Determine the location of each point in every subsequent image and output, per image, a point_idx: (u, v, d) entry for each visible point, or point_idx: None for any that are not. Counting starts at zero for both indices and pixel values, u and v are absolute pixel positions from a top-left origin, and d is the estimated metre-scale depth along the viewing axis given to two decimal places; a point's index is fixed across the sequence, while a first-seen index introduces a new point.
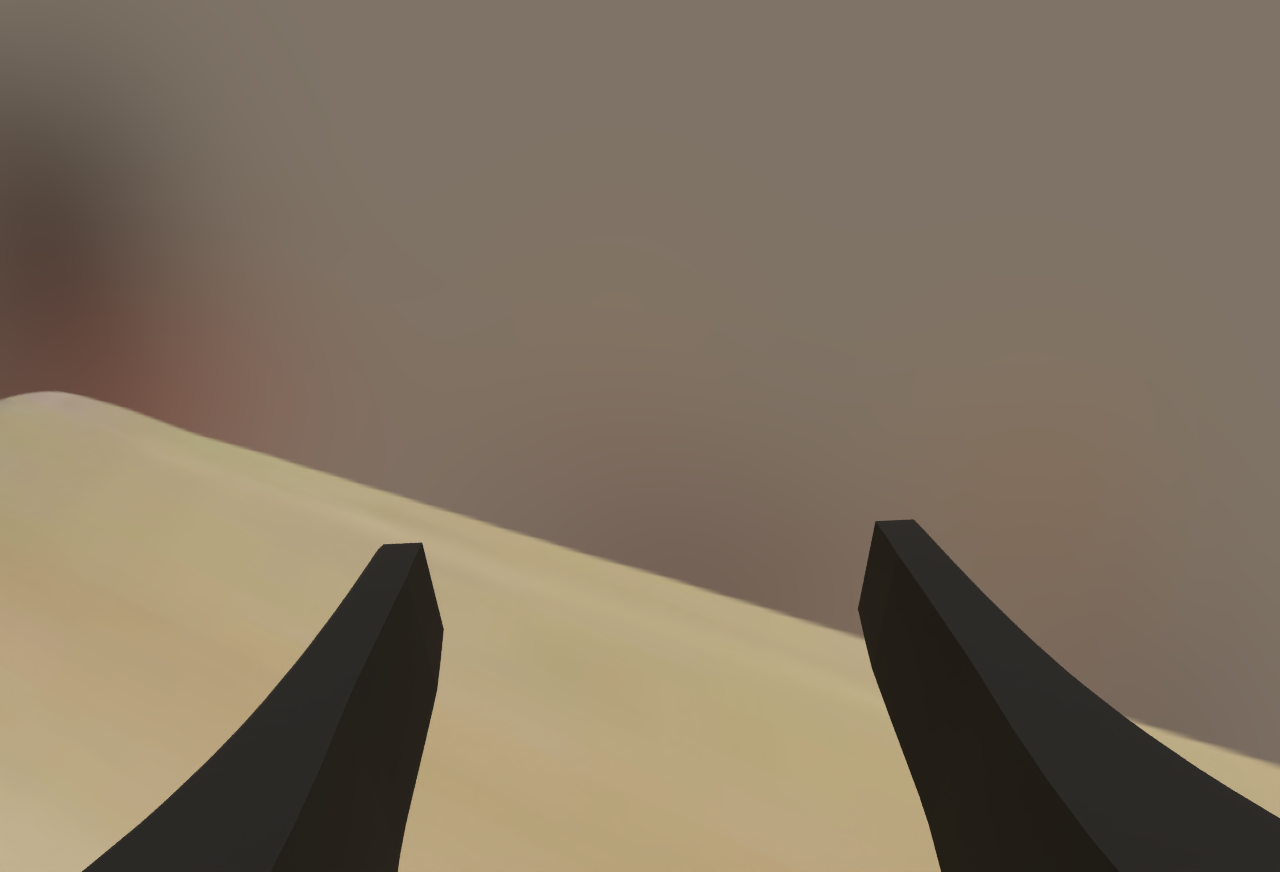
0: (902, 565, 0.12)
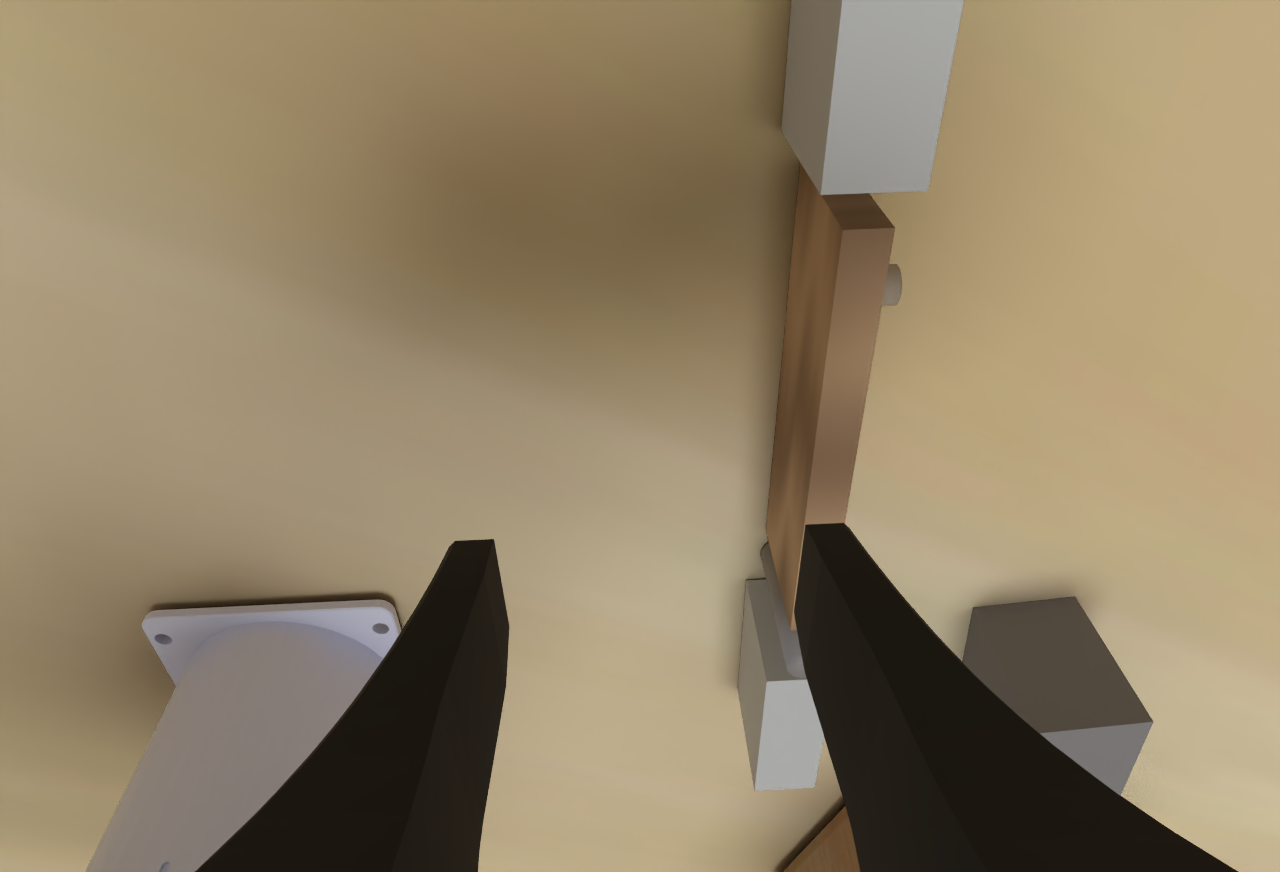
0: (825, 569, 0.12)
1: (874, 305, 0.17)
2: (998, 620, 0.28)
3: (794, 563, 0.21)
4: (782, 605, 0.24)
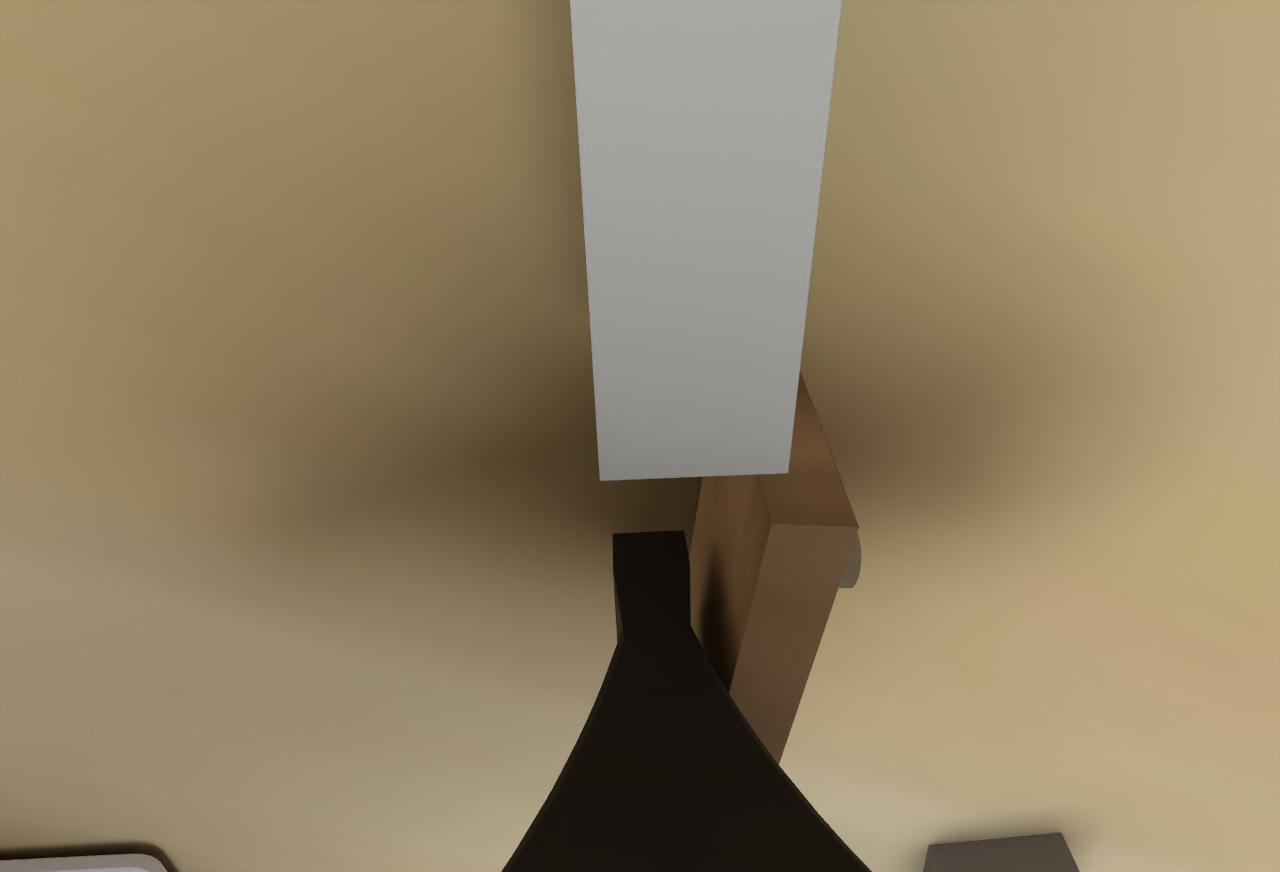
0: None
1: (813, 623, 0.10)
2: (961, 868, 0.21)
3: None
4: None
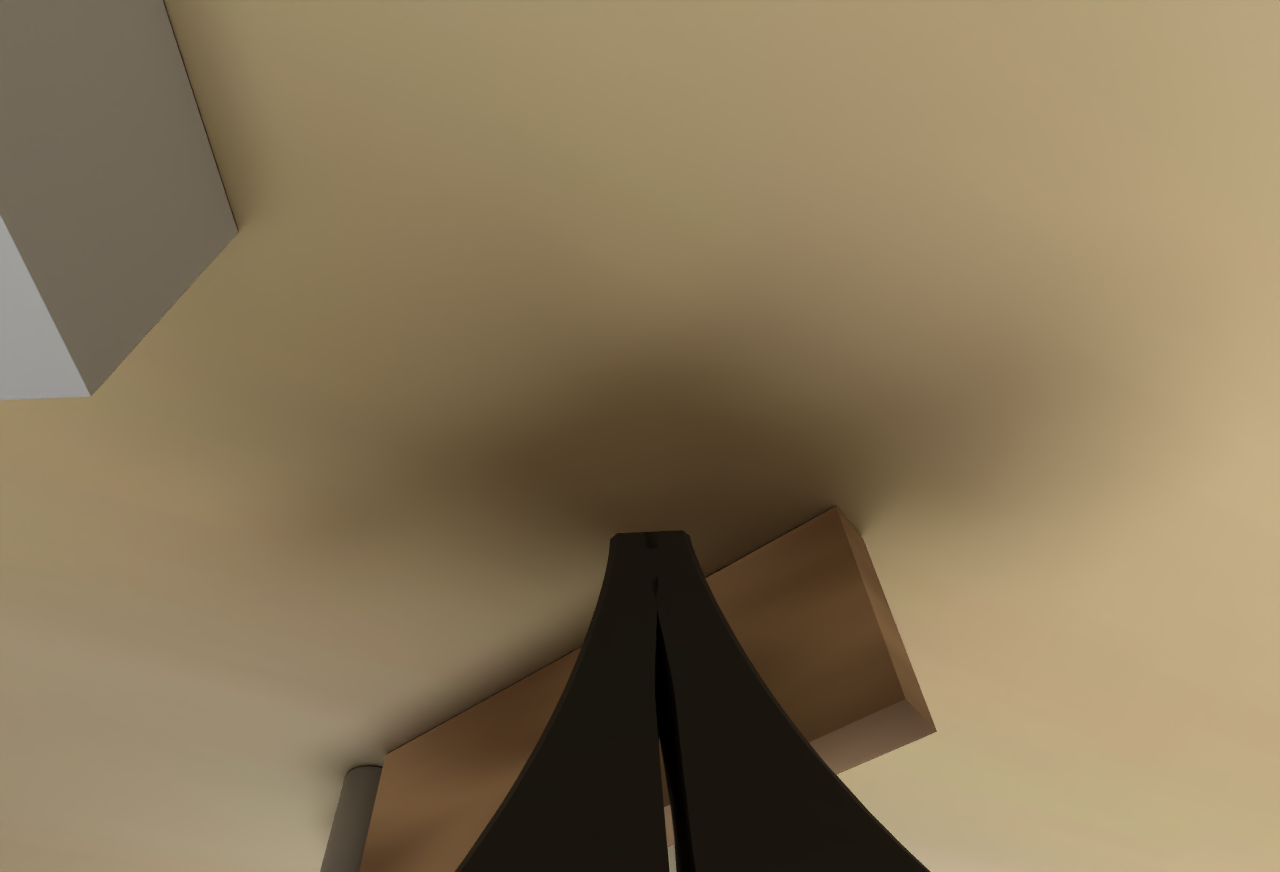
0: None
1: (831, 769, 0.12)
2: None
3: None
4: None
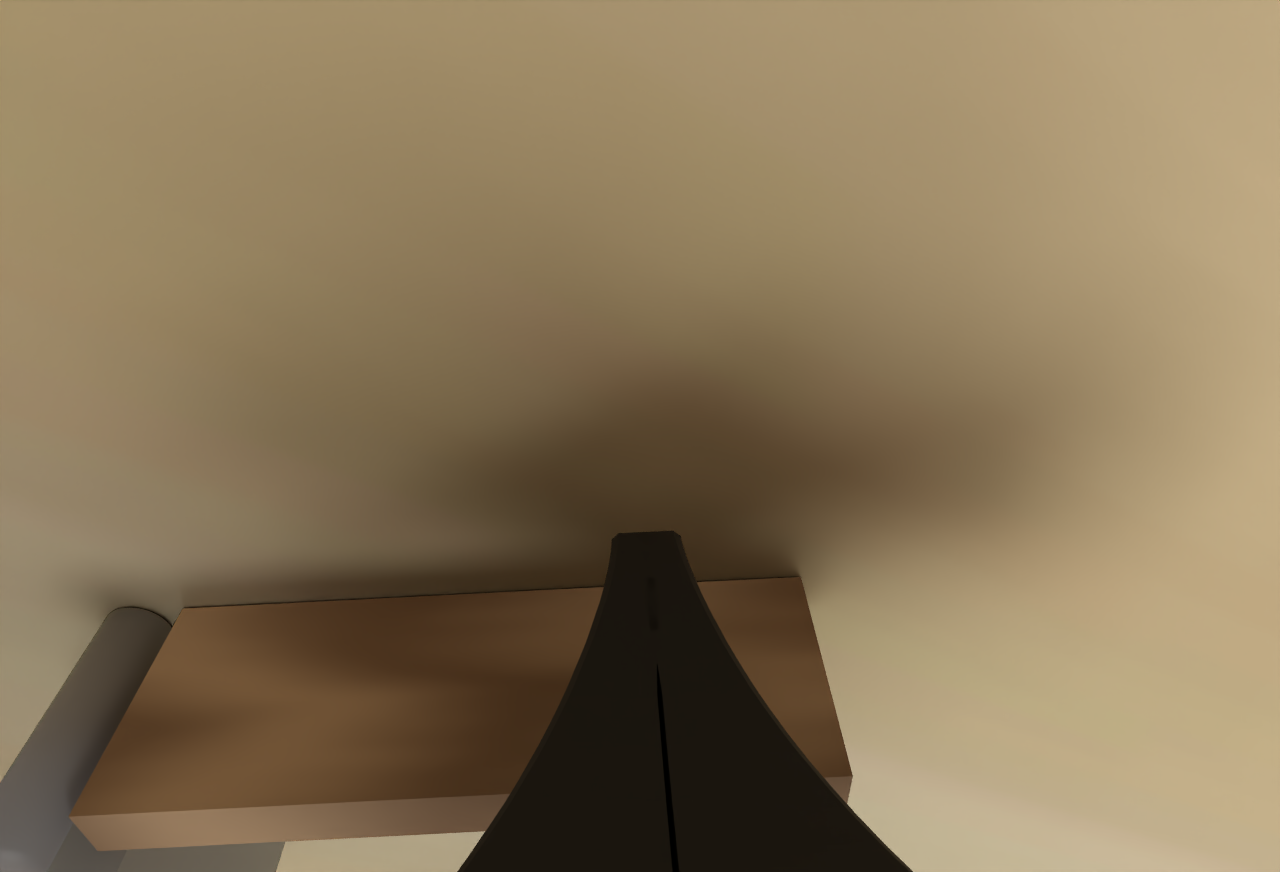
0: None
1: None
2: None
3: (224, 780, 0.12)
4: (29, 738, 0.13)
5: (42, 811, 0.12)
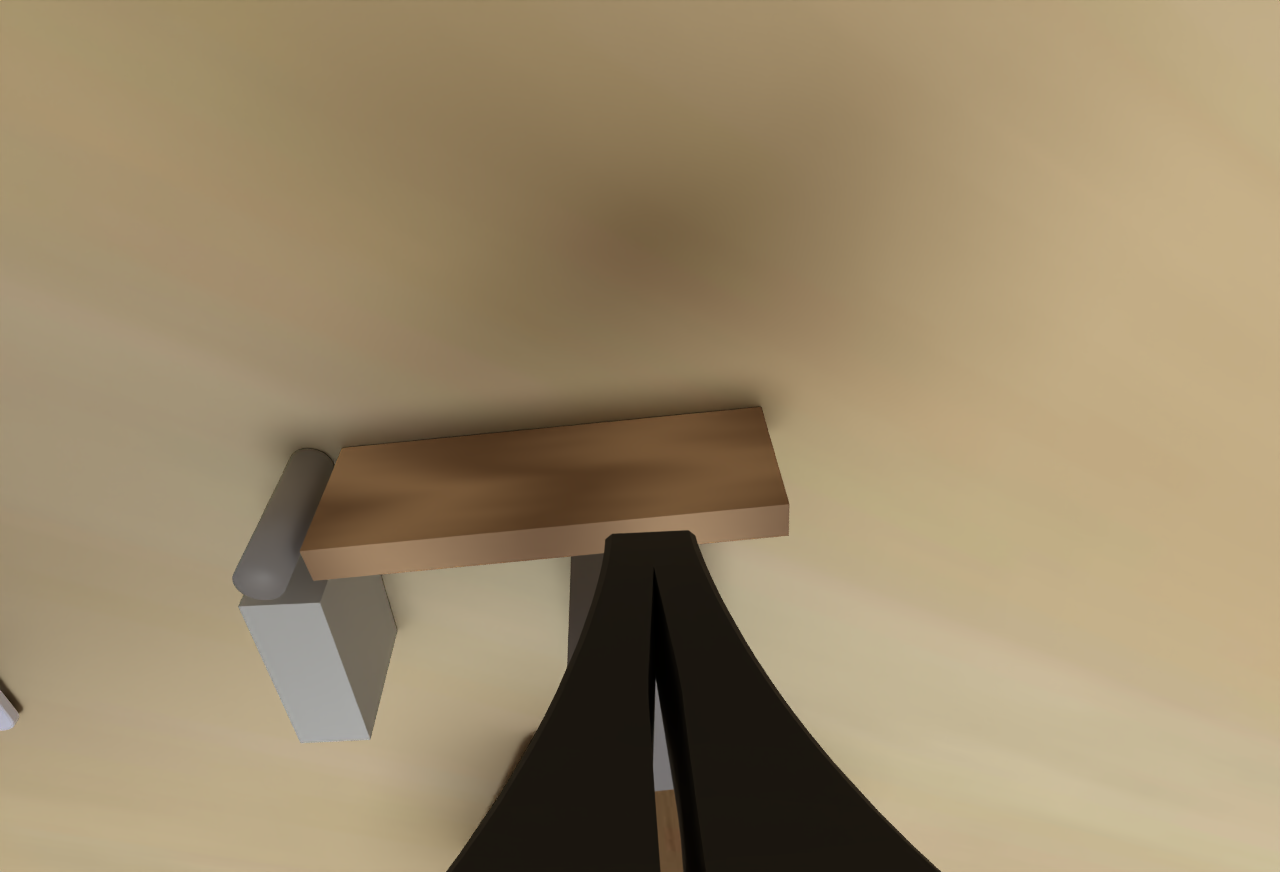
0: None
1: (719, 537, 0.20)
2: None
3: (392, 529, 0.19)
4: (261, 517, 0.20)
5: (282, 552, 0.19)
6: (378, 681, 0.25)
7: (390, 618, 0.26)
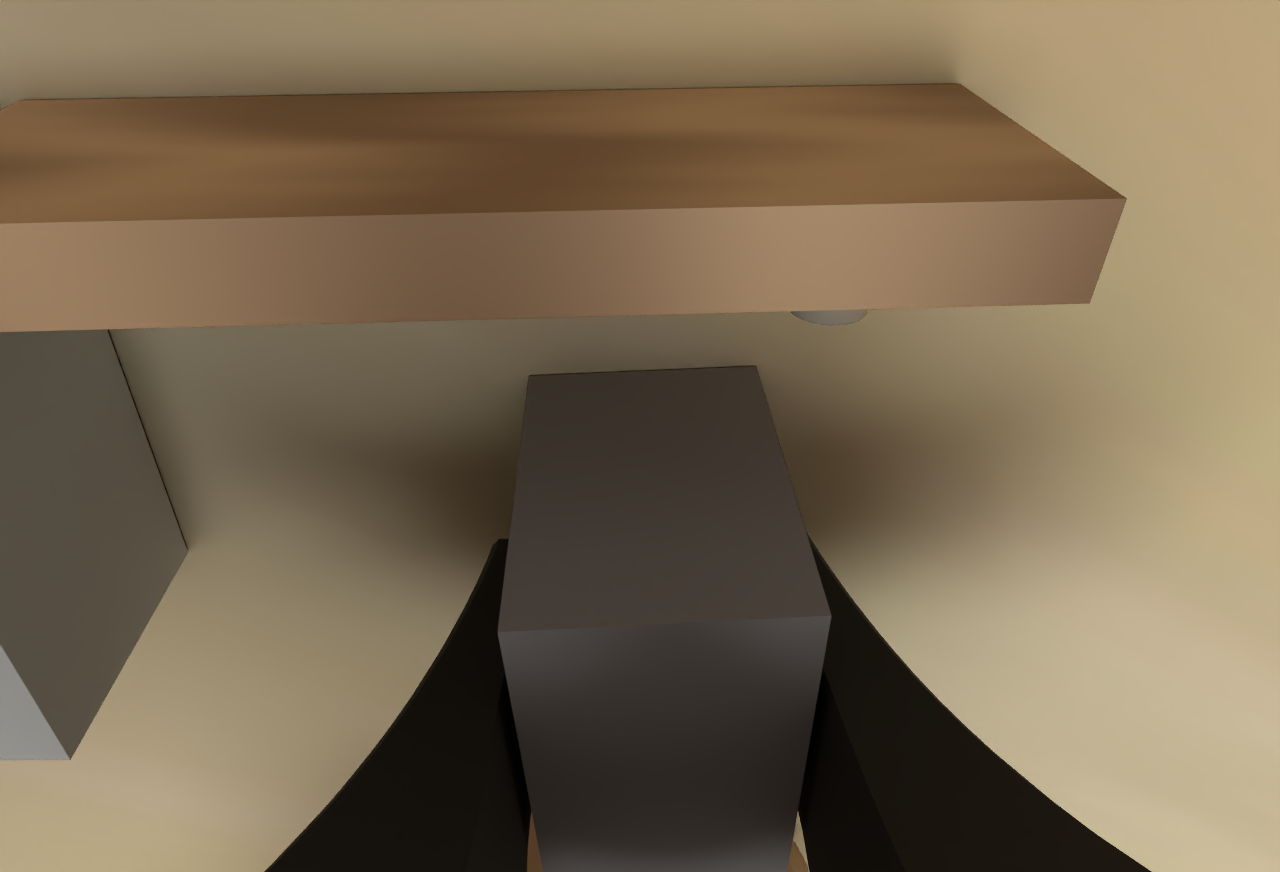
0: None
1: (918, 292, 0.07)
2: (568, 400, 0.12)
3: (40, 204, 0.07)
4: None
5: None
6: (114, 640, 0.12)
7: (168, 524, 0.14)
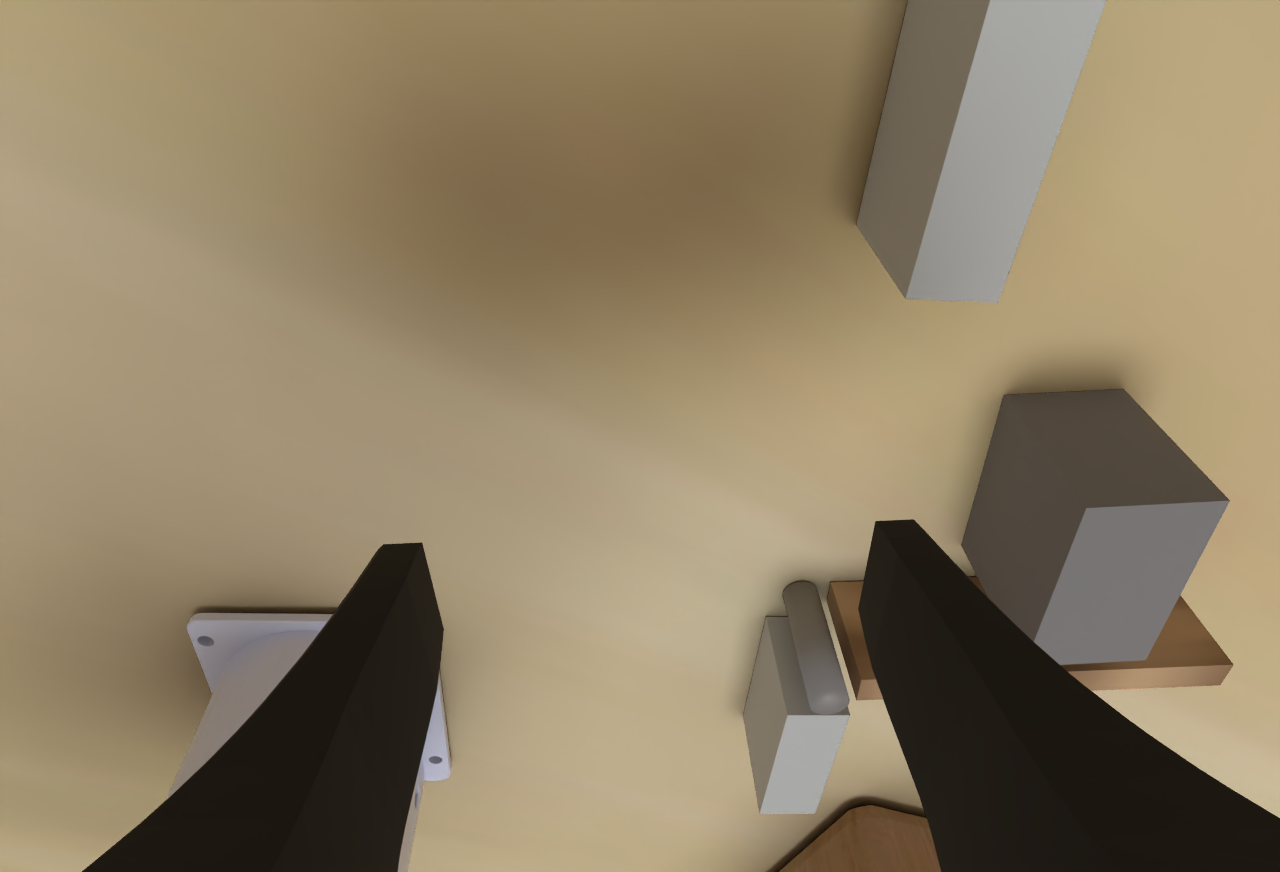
0: (902, 565, 0.12)
1: (1170, 684, 0.25)
2: (1034, 406, 0.23)
3: None
4: (806, 645, 0.26)
5: (842, 678, 0.25)
6: None
7: None
